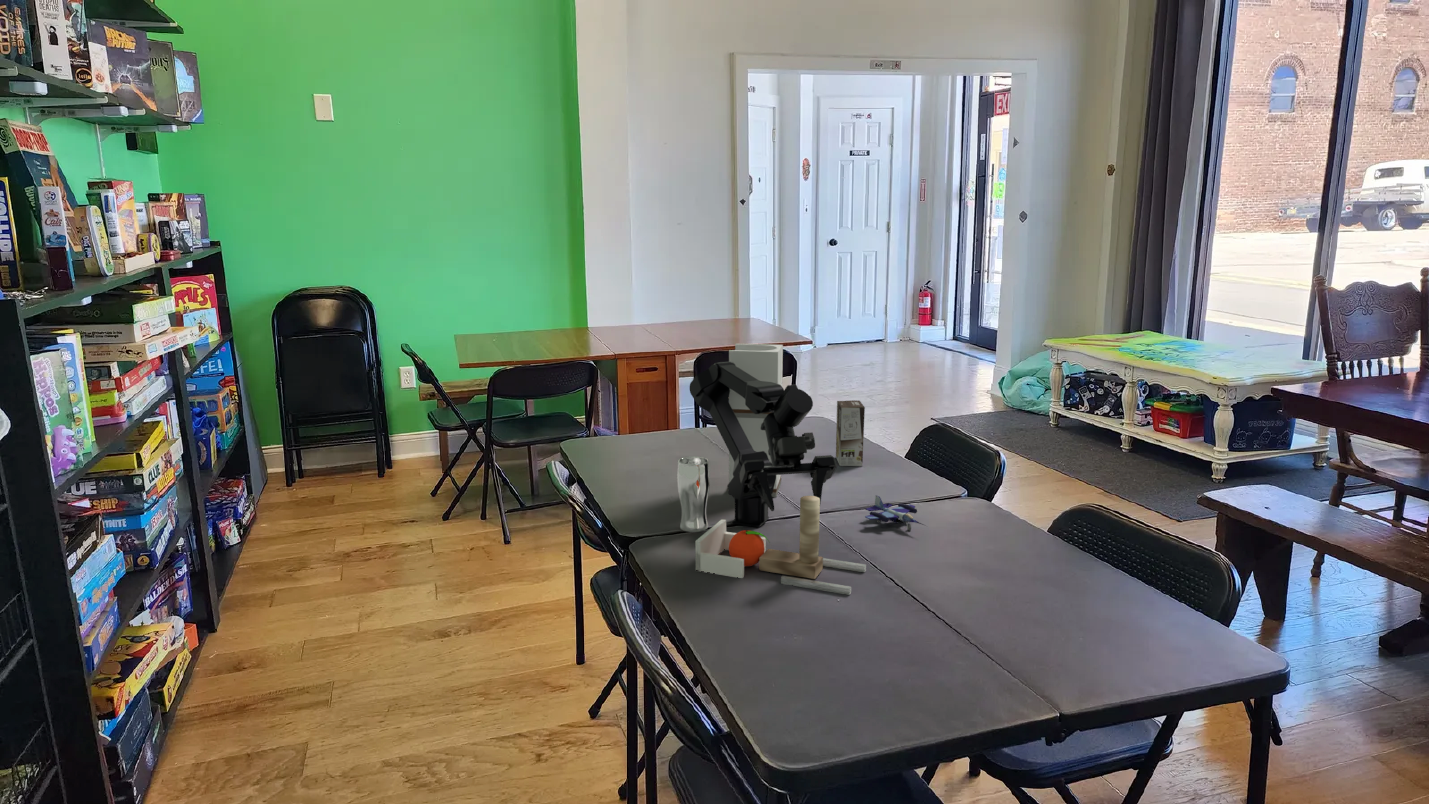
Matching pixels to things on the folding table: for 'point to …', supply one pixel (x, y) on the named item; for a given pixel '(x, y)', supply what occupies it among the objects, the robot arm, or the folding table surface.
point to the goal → (712, 546)
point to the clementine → (747, 546)
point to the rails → (824, 585)
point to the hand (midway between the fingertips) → (796, 508)
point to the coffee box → (850, 433)
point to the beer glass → (693, 492)
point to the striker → (808, 556)
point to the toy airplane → (892, 512)
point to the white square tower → (762, 366)
